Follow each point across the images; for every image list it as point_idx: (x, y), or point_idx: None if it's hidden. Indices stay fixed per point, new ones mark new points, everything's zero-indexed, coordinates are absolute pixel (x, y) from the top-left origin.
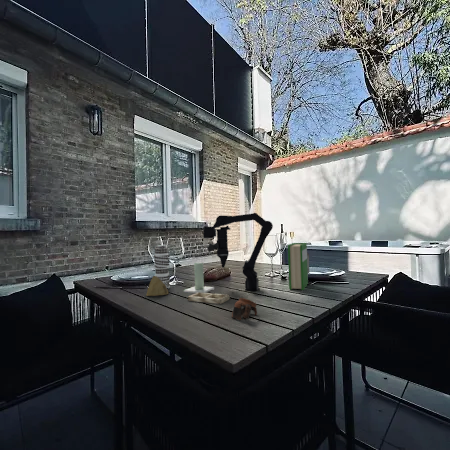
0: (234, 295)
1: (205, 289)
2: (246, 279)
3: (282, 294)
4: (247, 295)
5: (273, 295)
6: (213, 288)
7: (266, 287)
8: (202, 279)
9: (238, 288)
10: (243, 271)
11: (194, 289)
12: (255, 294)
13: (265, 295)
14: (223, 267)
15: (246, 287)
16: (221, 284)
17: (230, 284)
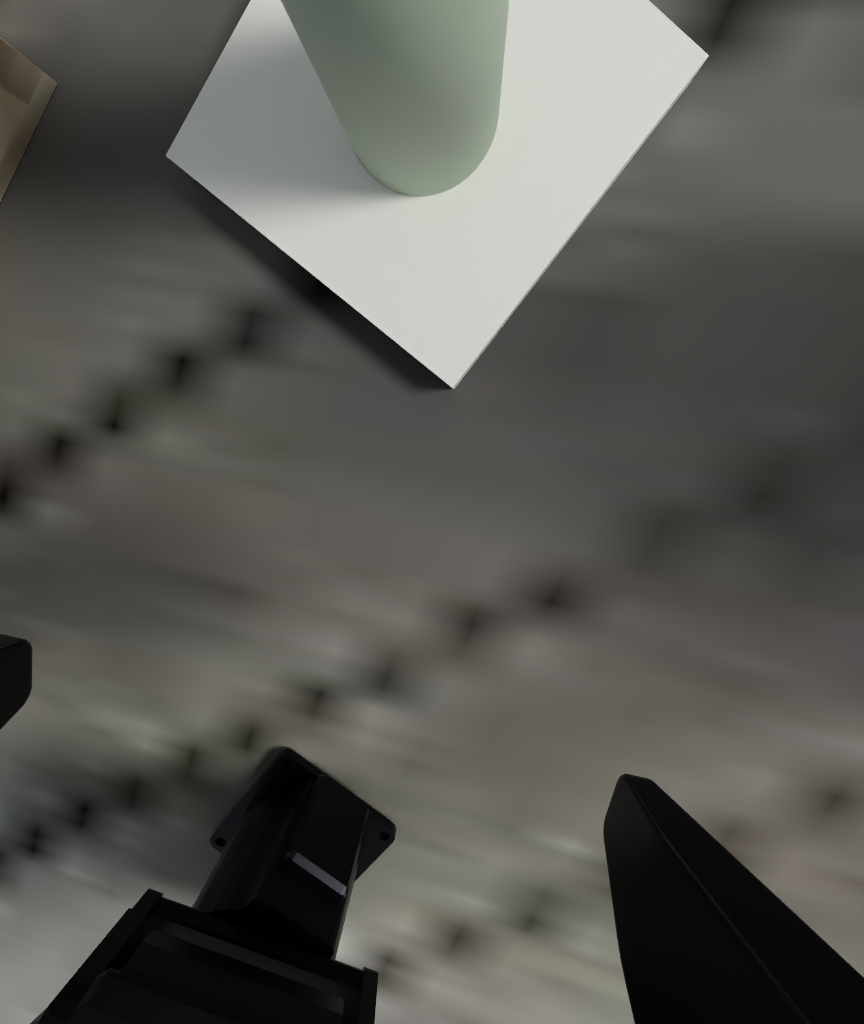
0: (78, 572)
1: (324, 216)
2: (255, 889)
3: (41, 980)
4: (55, 699)
5: (16, 905)
6: (434, 373)
7: None
8: (320, 69)
9: (426, 711)
10: (84, 997)
11: None
12: (83, 782)
13: (27, 847)
14: (13, 673)
15: (298, 791)
16: (797, 567)
17: (727, 686)
